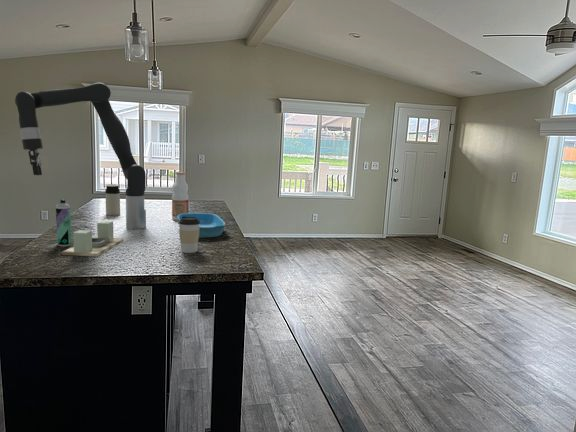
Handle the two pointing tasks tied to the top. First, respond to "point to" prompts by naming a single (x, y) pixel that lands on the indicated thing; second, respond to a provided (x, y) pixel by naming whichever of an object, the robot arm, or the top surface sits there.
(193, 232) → the coffee cup
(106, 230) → the sage pillars
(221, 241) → the top surface
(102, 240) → the metal collar
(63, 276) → the top surface
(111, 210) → the travel mug
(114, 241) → the wooden board
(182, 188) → the fruit juice
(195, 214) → the casserole dish
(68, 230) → the spray can
